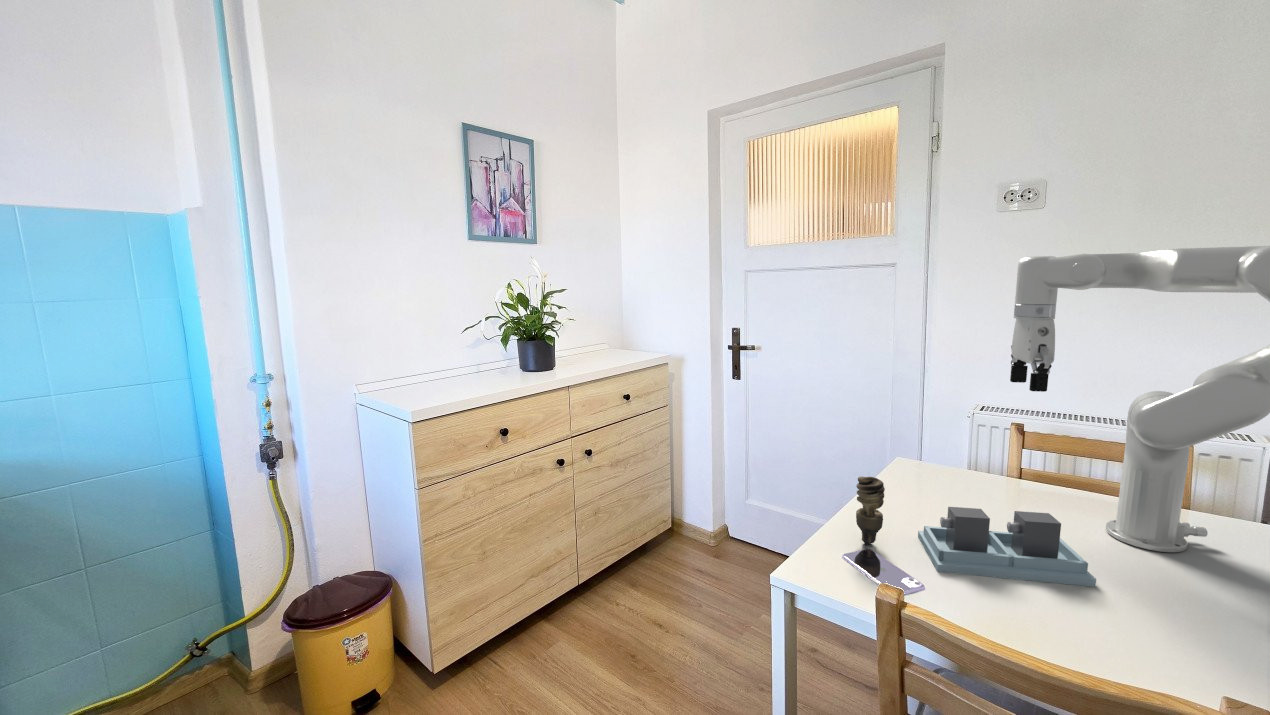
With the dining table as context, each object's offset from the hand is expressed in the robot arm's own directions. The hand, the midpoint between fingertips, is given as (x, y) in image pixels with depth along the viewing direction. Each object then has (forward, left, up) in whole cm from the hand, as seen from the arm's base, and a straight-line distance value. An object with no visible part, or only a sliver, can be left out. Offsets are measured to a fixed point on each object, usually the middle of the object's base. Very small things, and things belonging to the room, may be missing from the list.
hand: (1027, 386), depth 124 cm
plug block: (+7, +25, -29) cm, 39 cm away
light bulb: (+37, +23, -31) cm, 53 cm away
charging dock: (+13, +25, -30) cm, 41 cm away
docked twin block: (+20, +25, -29) cm, 43 cm away
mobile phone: (+36, +34, -31) cm, 59 cm away
